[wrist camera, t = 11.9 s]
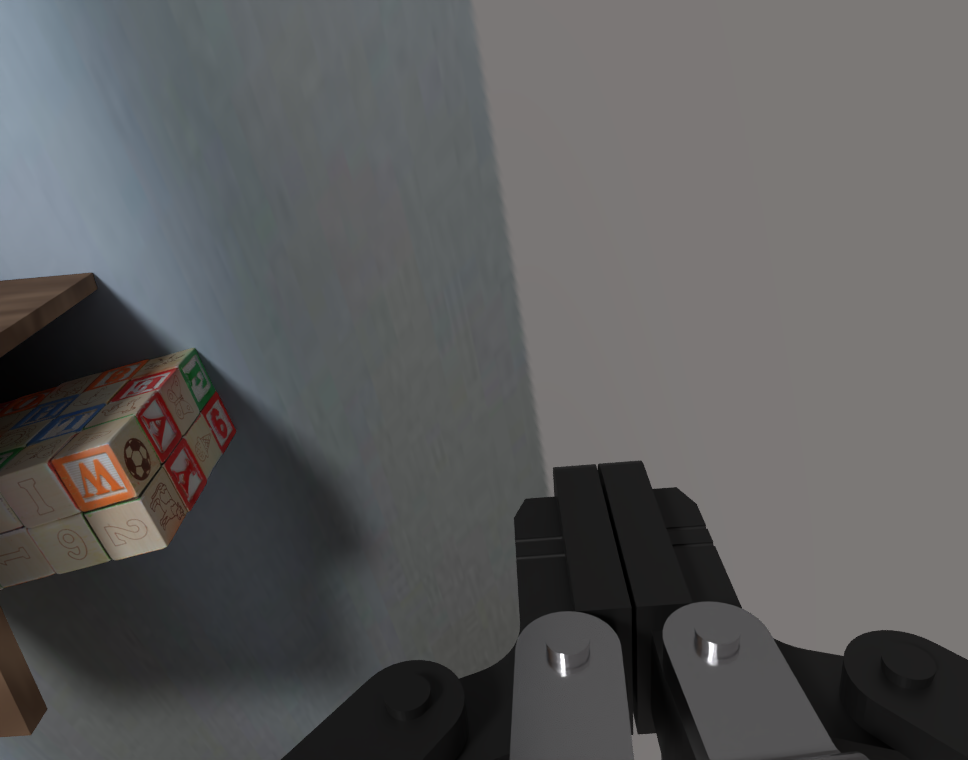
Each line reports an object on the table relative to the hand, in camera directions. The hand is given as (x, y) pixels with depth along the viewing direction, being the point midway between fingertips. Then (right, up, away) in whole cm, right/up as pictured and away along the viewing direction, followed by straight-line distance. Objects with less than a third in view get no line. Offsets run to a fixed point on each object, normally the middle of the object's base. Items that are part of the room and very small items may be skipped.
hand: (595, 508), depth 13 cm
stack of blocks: (-29, -1, +36) cm, 46 cm away
